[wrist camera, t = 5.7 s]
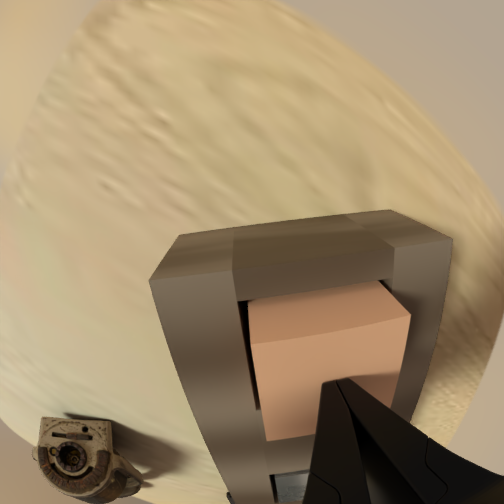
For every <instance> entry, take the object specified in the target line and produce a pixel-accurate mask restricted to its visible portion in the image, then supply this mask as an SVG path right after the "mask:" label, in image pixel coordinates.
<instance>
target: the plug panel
mask: <svg viewBox="0 0 504 504" xmlns="http://www.w3.org/2000/svg"><path fill="white" fill-rule="evenodd" d="M452 242H453V239H452V238H450V237H448V236H446V235H444V234H442V233H440V232H438V231H436V230H434V229H431V228H429V227H427V226H425V225H423V224H421V223H419V222H417V221H414V220H412V219H410V218H408V217H406V216H403V215H401V214H399V213H397V212H394V211H392V210H380V211H370V212H360V213H351V214H341V215H332V216H323V217H314V218H305V219H297V220H288V221H280V222H272V223H264V224H256V225H248V226H241V227H233V228H226V229H218V230H211V231H204V232H197V233H190V234H183V235H179V236H178V238H177V239H176V240H175V242H174V243H173V245H172V246H171V248H170V249H169V251H168V252H167V254H166V255H165V257H164V258H163V259H162V261H161V262H160V264H159V265H158V267H157V268H156V270H155V271H154V273H153V274H152V276H151V278H150V279H149V284H150V287H151V291H152V295H153V298H154V302H155V305H156V309H157V312H158V316H159V319H160V322H161V325H162V329H163V332H164V335H165V338H166V341H167V344H168V347H169V350H170V353H171V356H172V359H173V362H174V365H175V368H176V370H177V373H178V376H179V379H180V381H181V384H182V387H183V389H184V392H185V395H186V397H187V400H188V402H189V405H190V407H191V410H192V412H193V415H194V417H195V420H196V422H197V424H198V427H199V429H200V431H201V434H202V436H203V438H204V441H205V443H206V445H207V447H208V450H209V452H210V454H211V456H212V458H213V460H214V462H215V464H216V467H217V469H218V471H219V473H220V475H221V477H222V479H223V481H224V483H225V485H226V487H227V489H228V491H229V492H230V494H231V496H232V498H233V500H234V502H235V504H301V503H302V500H298V501H292V502H285V503H279V499H278V494H277V488H276V482H275V475H274V474H280V473H287V472H294V471H300V470H306V469H310V463H311V457H312V451H313V445H314V438H315V434H311V435H306V436H300V437H294V438H287V439H280V440H272V441H267V440H266V434H265V428H264V423H263V417H262V411H261V405H260V399H259V393H258V387H257V381H256V375H255V368H254V362H253V356H252V350H251V342H250V331H249V324H248V318H247V311H246V305H245V300H252V299H260V298H267V297H275V296H282V295H289V294H296V293H303V292H309V291H316V290H322V289H329V288H335V287H341V286H347V285H353V284H359V283H365V282H370V281H376V280H378V281H379V282H380V283H381V284H382V285H383V286H384V287H385V288H386V289H387V290H388V291H389V292H390V293H391V294H392V295H393V296H394V298H395V299H396V300H397V301H398V302H399V303H400V304H401V305H402V306H403V307H404V308H405V309H406V310H407V311H408V312H409V313H410V314H411V318H410V324H409V330H408V336H407V341H406V346H405V351H404V356H403V360H402V365H401V369H400V373H399V378H398V382H397V386H396V389H395V393H394V397H393V400H392V404H391V407H390V409H391V410H392V411H394V412H395V413H397V414H398V415H399V416H401V417H402V418H403V419H405V420H406V421H407V422H409V423H410V420H411V418H412V415H413V412H414V410H415V407H416V404H417V402H418V399H419V396H420V393H421V390H422V387H423V384H424V381H425V378H426V375H427V371H428V368H429V365H430V361H431V358H432V354H433V350H434V346H435V343H436V339H437V334H438V330H439V326H440V321H441V316H442V311H443V306H444V301H445V295H446V289H447V283H448V276H449V269H450V261H451V252H452Z"/></svg>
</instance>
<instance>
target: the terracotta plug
mask: <svg viewBox="0 0 504 504" xmlns="http://www.w3.org/2000/svg"><path fill="white" fill-rule="evenodd" d="M248 313H249V327H250V342H251V350H252V356H253V362H254V368H255V375H256V381H257V387H258V393H259V399H260V405H261V411H262V417H263V423H264V428H265V434H266V440H267V441H272V440H280V439H287V438H294V437H300V436H306V435H311V434H315V431H316V424H317V417H318V409H319V401H320V392H321V385H322V383H324V382H329V381H336V380H339V379H344V378H350V379H351V380H353V381H354V382H355V383H357V384H358V385H359V386H360V387H362V388H363V389H364V390H366V391H367V392H368V393H370V394H371V395H372V396H374V397H375V398H376V399H378V400H379V401H380V402H382V403H383V404H384V405H386V406H387V407H388V408H390V407H391V404H392V400H393V397H394V393H395V389H396V386H397V382H398V378H399V373H400V369H401V365H402V360H403V356H404V351H405V346H406V341H407V336H408V330H409V324H410V318H411V314H410V313H409V312H408V311H407V310H406V309H405V308H404V307H403V306H402V305H401V304H400V303H399V302H398V301H397V300H396V299H395V298H394V296H393V295H392V294H391V293H390V292H389V291H388V290H387V289H386V288H385V287H384V286H383V285H382V284H381V283H380V282H379V281H378V280H376V281H370V282H365V283H359V284H353V285H347V286H341V287H335V288H329V289H322V290H316V291H309V292H303V293H296V294H289V295H282V296H275V297H267V298H260V299H252V300H248Z"/></svg>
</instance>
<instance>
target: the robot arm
mask: <svg viewBox="0 0 504 504" xmlns="http://www.w3.org/2000/svg"><path fill="white" fill-rule="evenodd" d="M227 498H228V500H229V502H230V503H231V504H235V502H234V500H233V498H232V496H231V494H230V492H227ZM301 504H504V476H502V475H499V474H496V473H493V472H491V471H489V470H487V469H485V468H482V467H480V466H478V465H476V464H474V463H472V462H470V461H468V460H466V459H464V458H462V457H460V456H458V455H456V454H455V453H453V452H451V451H449V450H448V449H446V448H445V447H443V446H442V445H440V444H439V443H437V442H436V441H434V440H433V439H431V438H428V436H427V435H426V434H424V433H423V432H421V431H420V430H419V429H417V428H416V427H414V426H413V425H412V424H410V423H409V422H407V421H406V420H405V419H403V418H402V417H401V416H399V415H398V414H397V413H395V412H394V411H392V410H391V409H390V408H388V407H387V406H386V405H384V404H383V403H382V402H380V401H379V400H378V399H376V398H375V397H374V396H372V395H371V394H370V393H368V392H367V391H366V390H364V389H363V388H362V387H360V386H359V385H358V384H357V383H355V382H354V381H353V380H351V379H350V378H344V379H339V380H336V381H329V382H324V383H322V385H321V392H320V401H319V409H318V417H317V424H316V431H315V438H314V445H313V451H312V457H311V463H310V469H309V474H308V479H307V484H306V488H305V493H304V497H303V500H302V503H301Z"/></svg>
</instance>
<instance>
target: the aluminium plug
mask: <svg viewBox="0 0 504 504" xmlns="http://www.w3.org/2000/svg"><path fill="white" fill-rule="evenodd" d="M308 474H309V469H306V470H300V471H294V472H287V473H280V474H274V475H275V482H276V488H277V494H278V499H279V503H285V502H292V501H298V500H303V497H304V493H305V488H306V484H307V479H308Z"/></svg>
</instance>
